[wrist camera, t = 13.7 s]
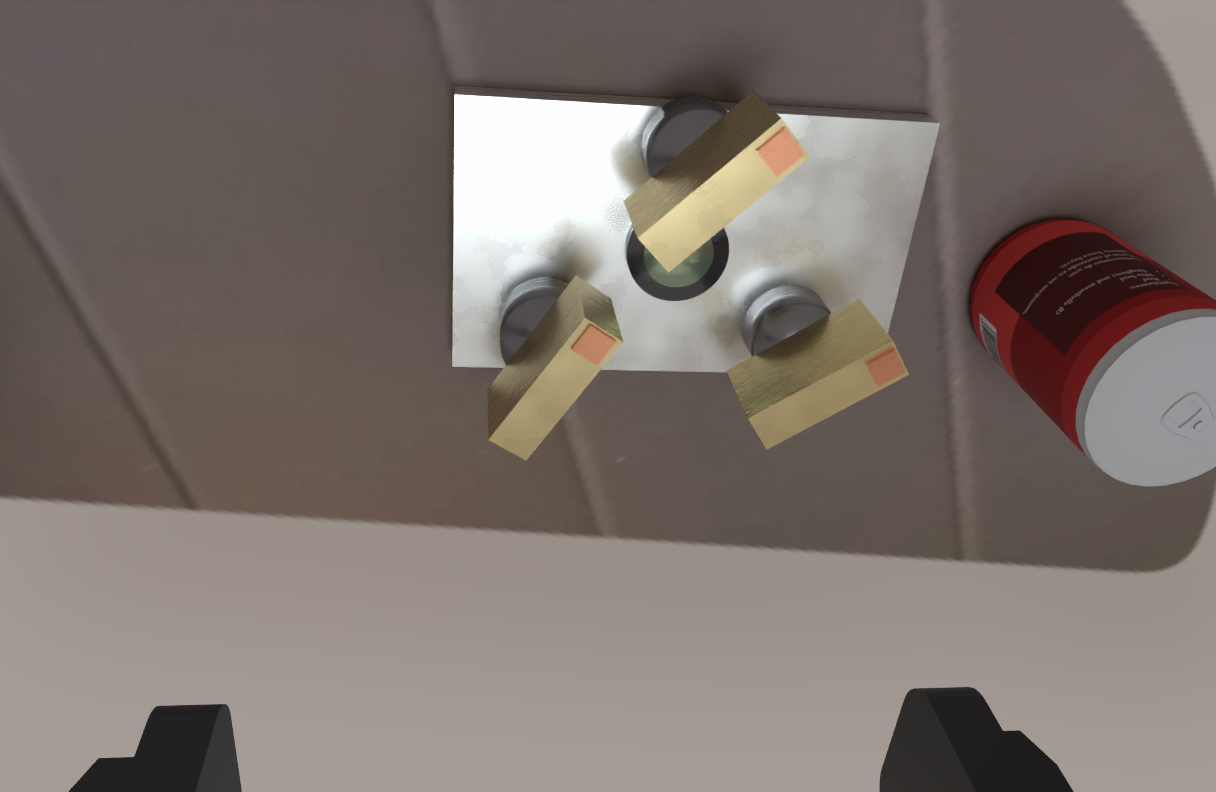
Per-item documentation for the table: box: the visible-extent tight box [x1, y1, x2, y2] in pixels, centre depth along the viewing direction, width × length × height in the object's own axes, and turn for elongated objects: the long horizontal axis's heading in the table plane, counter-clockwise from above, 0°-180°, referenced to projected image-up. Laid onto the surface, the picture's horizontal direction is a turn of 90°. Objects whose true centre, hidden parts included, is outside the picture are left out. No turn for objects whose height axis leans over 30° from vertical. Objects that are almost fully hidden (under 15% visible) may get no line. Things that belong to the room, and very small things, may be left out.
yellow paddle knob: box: [624, 91, 810, 273], centre depth 38 cm, size 6×4×7 cm, turn 130°
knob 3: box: [727, 285, 909, 449], centre depth 43 cm, size 6×4×7 cm, turn 120°
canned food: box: [970, 219, 1216, 486], centre depth 43 cm, size 8×8×11 cm
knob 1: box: [487, 275, 623, 460], centre depth 41 cm, size 6×4×7 cm, turn 143°
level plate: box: [452, 86, 940, 372], centre depth 43 cm, size 20×12×2 cm, turn 85°
